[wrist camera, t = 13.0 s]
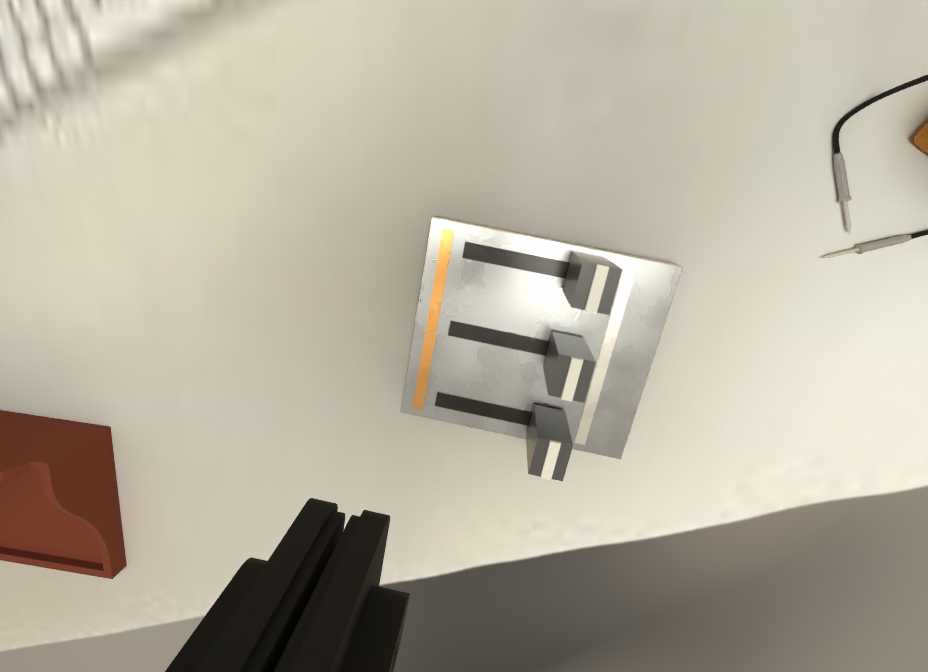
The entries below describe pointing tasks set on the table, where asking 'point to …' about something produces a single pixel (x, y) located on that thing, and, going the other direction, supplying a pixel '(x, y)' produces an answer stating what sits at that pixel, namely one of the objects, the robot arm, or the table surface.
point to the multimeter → (923, 140)
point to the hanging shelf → (59, 496)
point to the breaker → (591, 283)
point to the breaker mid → (568, 367)
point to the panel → (528, 334)
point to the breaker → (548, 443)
